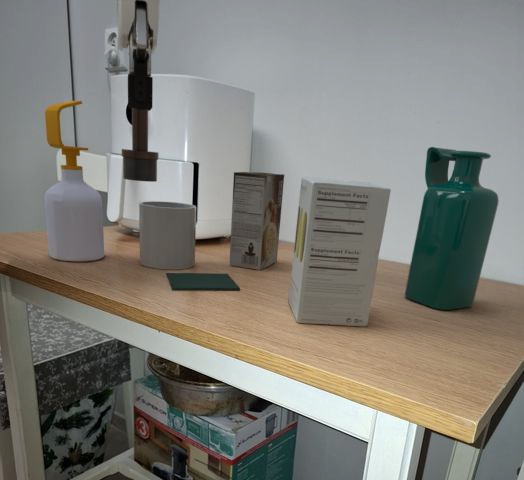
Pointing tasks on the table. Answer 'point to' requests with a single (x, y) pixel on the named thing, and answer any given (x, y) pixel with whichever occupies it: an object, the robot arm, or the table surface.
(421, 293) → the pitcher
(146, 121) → the brush
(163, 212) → the tumbler
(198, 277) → the mat
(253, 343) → the table surface
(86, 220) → the soap bottle
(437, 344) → the table surface
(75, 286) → the table surface
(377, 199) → the supplement box
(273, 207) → the coffee box
